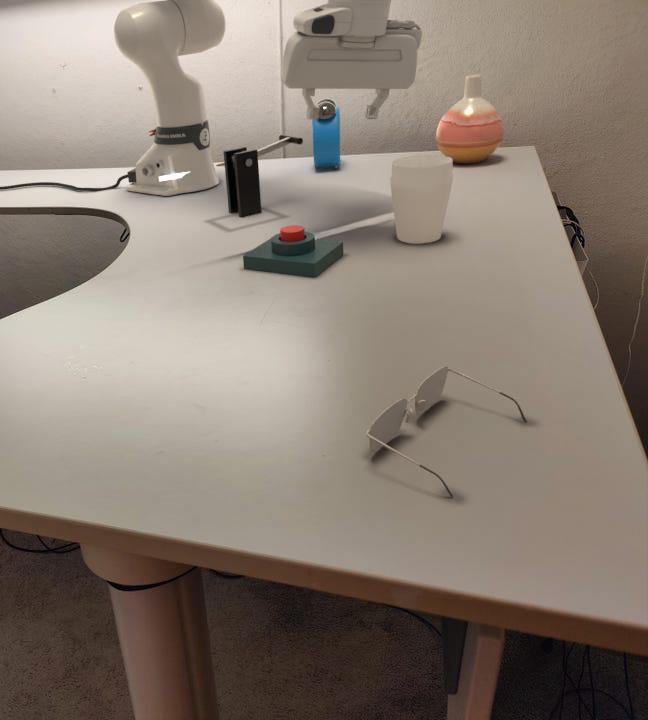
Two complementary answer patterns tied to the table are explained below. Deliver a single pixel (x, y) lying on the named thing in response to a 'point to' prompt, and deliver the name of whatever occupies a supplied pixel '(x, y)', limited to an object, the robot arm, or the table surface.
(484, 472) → the table surface
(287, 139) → the lever
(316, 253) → the button box
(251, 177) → the bracket
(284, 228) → the button
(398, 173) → the cup
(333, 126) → the blue block with ball
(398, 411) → the eyeglasses
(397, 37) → the robot arm
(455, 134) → the vase
